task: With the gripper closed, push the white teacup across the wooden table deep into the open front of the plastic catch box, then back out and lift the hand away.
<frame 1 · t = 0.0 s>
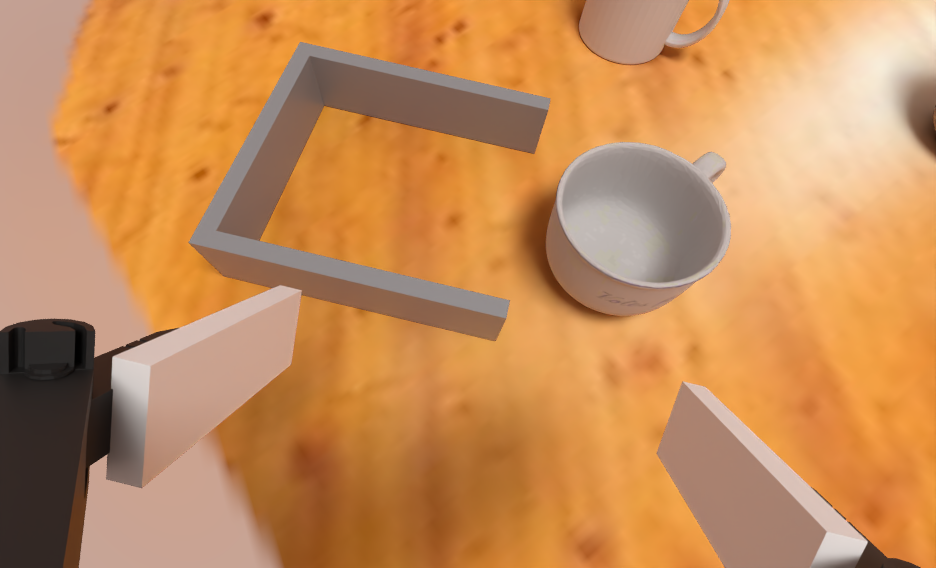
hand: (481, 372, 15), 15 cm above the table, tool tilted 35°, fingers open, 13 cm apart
teacup: (616, 256, 35), on the table
catch box: (395, 203, 35), on the table
mug: (627, 41, 45), on the table
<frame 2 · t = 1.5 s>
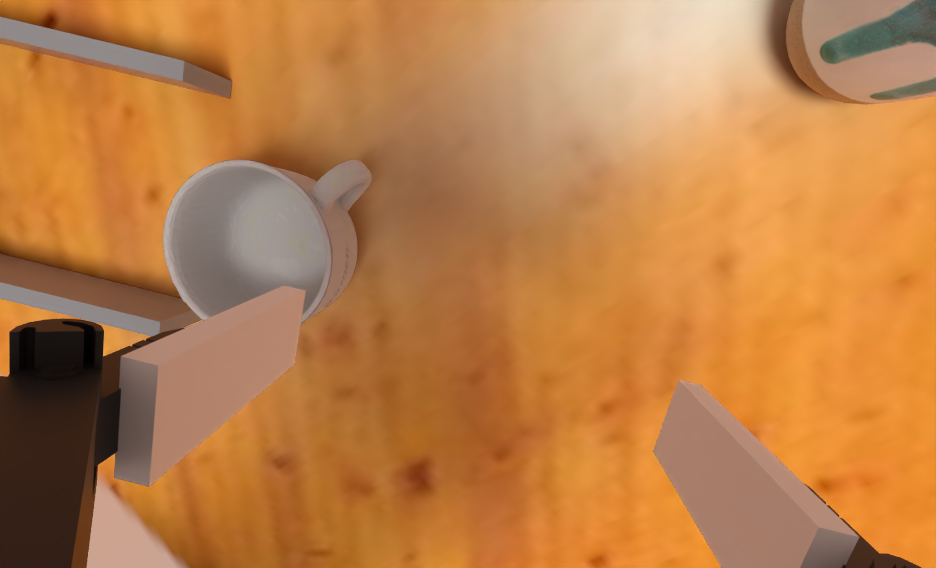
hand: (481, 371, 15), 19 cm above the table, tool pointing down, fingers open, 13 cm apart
teacup: (319, 230, 34), on the table
catch box: (92, 176, 34), on the table
vase: (836, 35, 29), on the table
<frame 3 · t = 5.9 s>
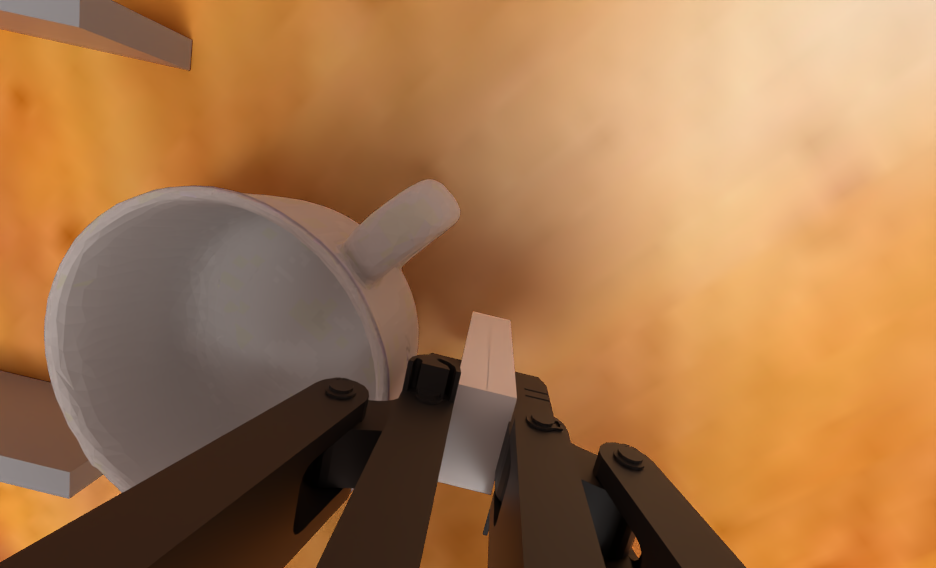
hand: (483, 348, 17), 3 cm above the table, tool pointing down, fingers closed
teacup: (347, 292, 20), on the table, touching gripper
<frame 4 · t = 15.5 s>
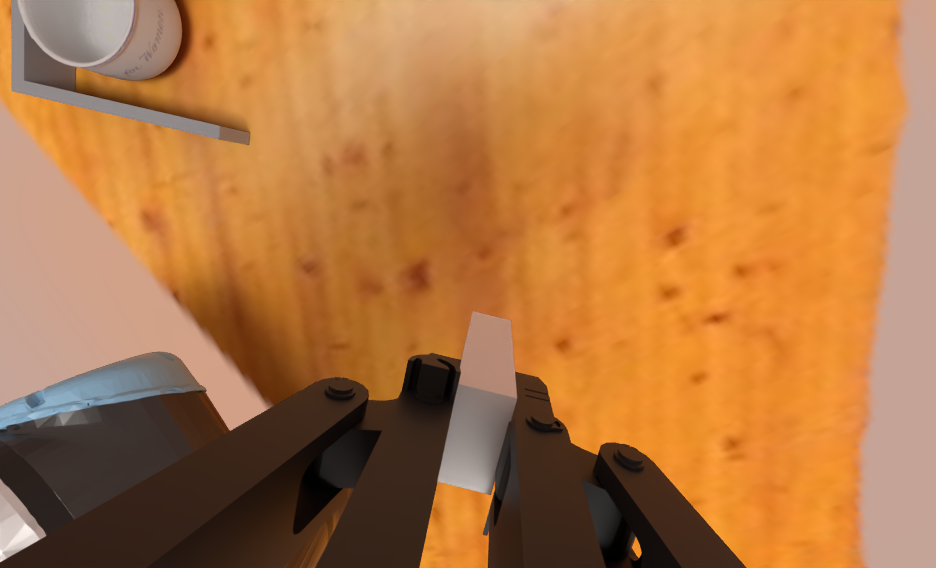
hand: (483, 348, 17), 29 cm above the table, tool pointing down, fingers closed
teacup: (161, 23, 44), resting in catch box
catch box: (162, 27, 44), on the table
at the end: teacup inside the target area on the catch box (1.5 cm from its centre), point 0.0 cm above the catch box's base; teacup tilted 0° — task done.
